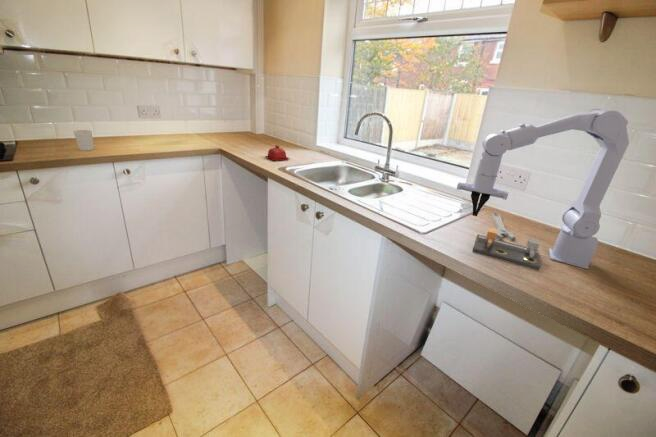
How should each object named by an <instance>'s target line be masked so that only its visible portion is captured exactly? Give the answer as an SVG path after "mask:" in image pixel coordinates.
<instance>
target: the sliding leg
mask: <svg viewBox="0 0 656 437" xmlns="http://www.w3.org/2000/svg"><path fill="white" fill-rule="evenodd" d="M487 230H488V231H487V233H486V236H485V237H486V240H488V246H487V247H488V248H489V247H490V245H491V243H492V242H494V241H495V239H497V238H496V235H497V230H498V229H497V228H493V227H488V229H487Z"/></svg>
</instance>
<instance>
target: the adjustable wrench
mask: <svg viewBox="0 0 656 437" xmlns="http://www.w3.org/2000/svg"><path fill="white" fill-rule="evenodd" d="M491 216H492V219H493V222H494V224H495V226H496V229H498V230H497V235H496V238H495V239H497V240H501V241H504V237H506V238H507V239H508V240H509V241H510V242H511V241H512V242H513V240H514V238H515V233H514V232H511V231H509V230H507V228H505V225H504V222H503V220H502V217H501V215H500V214H499V213H496V212H492V213H491Z"/></svg>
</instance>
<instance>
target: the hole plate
mask: <svg viewBox="0 0 656 437" xmlns="http://www.w3.org/2000/svg"><path fill="white" fill-rule="evenodd" d="M487 246H488V240H486V236H485V235H481V234H477V235H476V238H475V241H474V245H473V247H472V252H473V253H475V254H480V255H484V256H487V257H490V258H493V259H498V260H501V261H505V262H508V263H512V264H515V265H517V266H522V267H526V268H529V269H533V270H536V271H540V268H541V261H540V254H539V246H540V242H539V239H538V238H537V239H536V238H532V237H528V240H527V242H526V245H525V246H523V245H519V244H516V243H511V242H508V241H505V240H500V239H497V238H495V241H494V242H492V243H491V245H490V247H489V248H488V247H487Z"/></svg>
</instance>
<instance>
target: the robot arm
mask: <svg viewBox="0 0 656 437" xmlns="http://www.w3.org/2000/svg"><path fill="white" fill-rule="evenodd" d="M628 123H629V120H628V119H627V118H625V116H624V115H623V114H622V113H621V112H619V111H617V110H606V109H600V108H593V109H590V110H588V111H587V110H586V111H585V110H584V111H580V112H576V113H572V114H570V115H566V116H564V117H560V118H558V119H555V120H552V121H549V122H546V123H543V124H540V125H536V126H534V125H532V124H530V123H528V124H526V123H519V124H518V127H514V128H510V129H508V130H507V129H506V130H505V129H502V130H500V133H491V134H488V135H487V136H486V137H485V138H484V140H483V141H482V148H483V150H482V152H481V157H480V159H479V162H478V165H477V169H476V173H475V177H474V181H473V183H464V182H458V183H457V186H456V190H458V191H466V192H470V193H471V194H470V199H471V203H472V216H474V217H478V214H479V212H480V211H481V209H482V208H483V207H484V205H485V204H486V203H488V201H489V200H490V197H494V198H499V199H502V200H506V201H507V200H508V196H509V191H504V190H500V189H497V188H494V185H495V183H496V180H497V176H498V172H499V169H500V166H501V162H502V158H503V155H504V154H505V153H507V151H512V150H516V149H519V148H523V147H526V146H530V145H533V144H535V143H536V142H537V140H538V139H539V138H542V137H546V136H547V137H548V136H551V135H556V134H558V133H559V134H560V133H564V132H568V131H571V130H572V131H573V130H574V131H582V132H584V133H586V134H587V135H589V136H591V137H593V139H594V140H595V141H596V143H597V144H598V145H599V146H600V147H599V150H598V152H597V154H596V156H595V158H594V161H593V163H592V165H591V168H590V170H589V172H588V175H587V176H586V179H585V181H584V184H583V186H582V188H581V190H580V193H579V195H578V196H577V197H578V198H577V199H576V200H574V201H573V202H571V204H570V206H569V208H567V209H566V210H565V211H564V212H563V214H562V216H561V218H562V219H561V220H562V222H563V225H562V226H561V229H560V231H559V232H558V236H557V238H556V241H555V243H554V246H553V248H548V252H549V258H550V259H551V260H553V261H557V262H561V263H563V264H567V265H572V266H575V267H579V268H582V269H586V270H587V269H589V265H590V263H591V261H592V259H593V257H594V255H595V253H596V251H597V248H598V245H599V242H598V241H599V240H598V237H595V235H596V234H597V233H598V232H599V231H600V220H601V218H602V211H601V204H602V202H603V200H604V197H605V195H606V193H607V191H608V189H609V187H610V185H611V182H612V180H613V178H614V177H615V174H616V172H617V170H618V168H619V165H620V163H621V162H622V159H623V157H624V155H625V153H626V151H627V148H628V147H629V144H630V140H629V134H628V129H627V125H628Z"/></svg>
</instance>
